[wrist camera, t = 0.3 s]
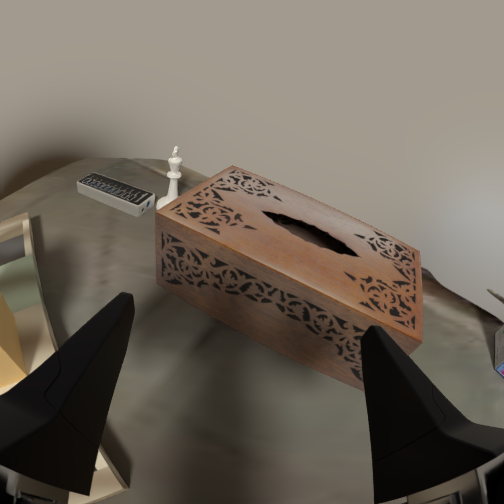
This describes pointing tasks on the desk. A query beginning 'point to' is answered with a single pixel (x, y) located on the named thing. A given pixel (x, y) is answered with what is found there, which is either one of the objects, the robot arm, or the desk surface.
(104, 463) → the trap board
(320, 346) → the tissue box cover
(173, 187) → the chess piece
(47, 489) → the robot arm
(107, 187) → the multiport hub
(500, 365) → the ink cartridge box
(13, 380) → the ochre block
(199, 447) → the desk surface
